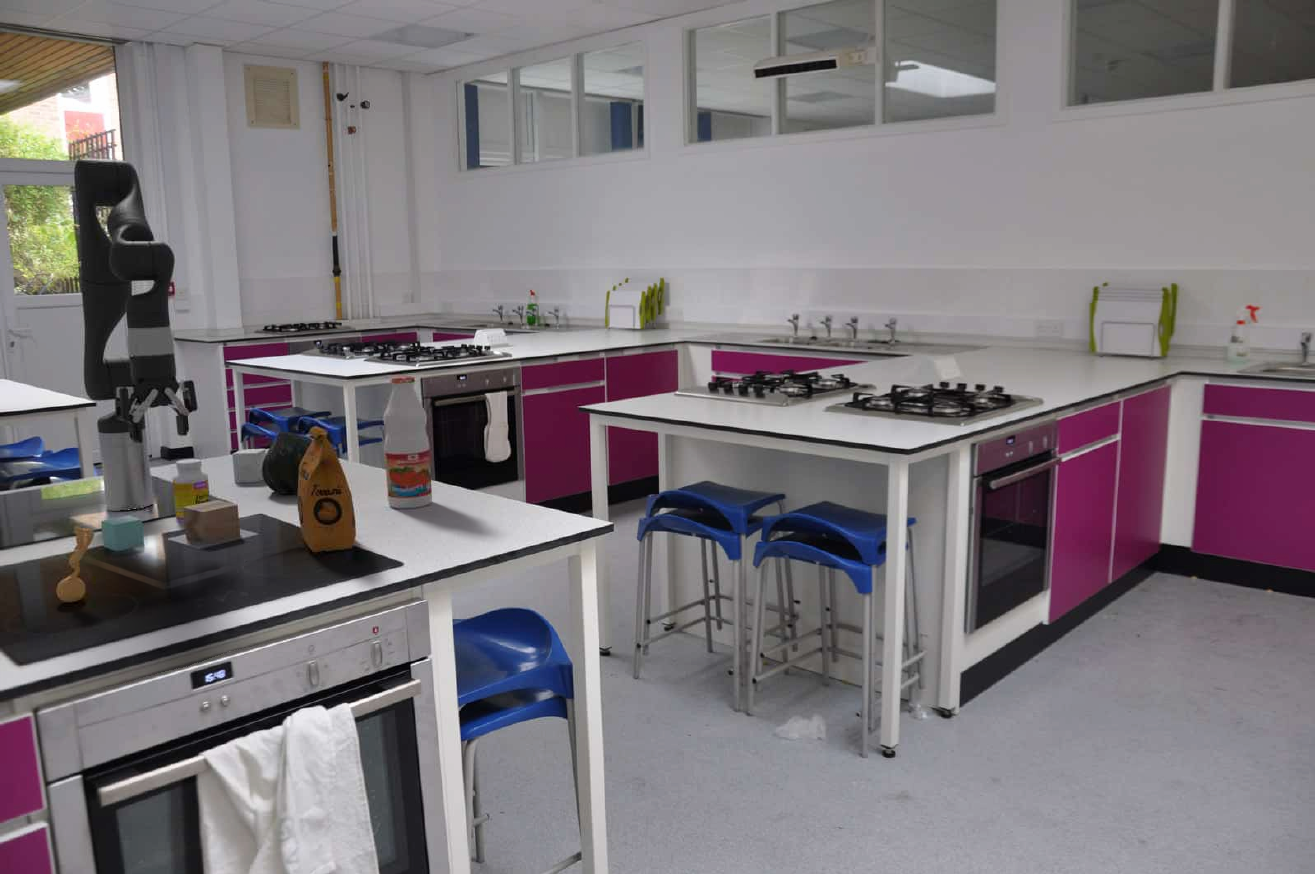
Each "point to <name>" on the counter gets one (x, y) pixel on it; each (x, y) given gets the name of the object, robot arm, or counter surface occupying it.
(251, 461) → the skincare box
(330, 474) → the coffee package
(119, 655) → the counter surface
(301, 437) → the squash
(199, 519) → the walnut block
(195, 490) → the supplement bottle
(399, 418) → the fruit juice
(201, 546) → the slate pad
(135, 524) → the teal block
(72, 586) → the figurine
